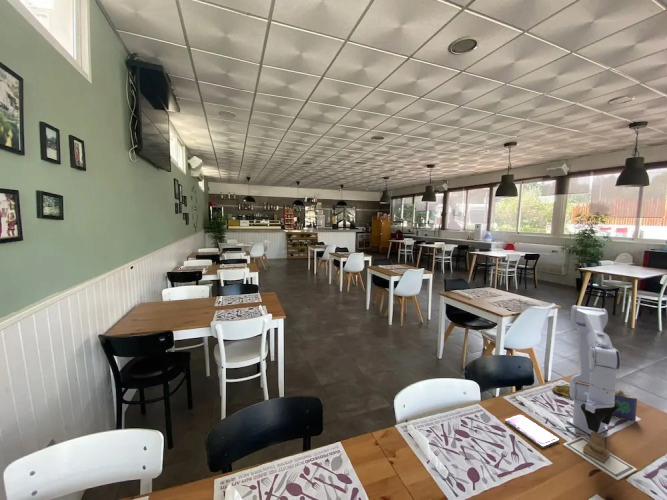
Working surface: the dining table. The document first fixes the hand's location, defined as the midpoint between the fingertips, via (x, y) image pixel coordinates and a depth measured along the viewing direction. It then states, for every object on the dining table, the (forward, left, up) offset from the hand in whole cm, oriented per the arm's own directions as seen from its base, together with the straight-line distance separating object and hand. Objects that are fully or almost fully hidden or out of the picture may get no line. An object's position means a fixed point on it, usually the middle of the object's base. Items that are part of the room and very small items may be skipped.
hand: (598, 426), depth 87 cm
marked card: (0, +1, -10) cm, 10 cm away
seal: (-32, -25, -10) cm, 42 cm away
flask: (-32, -8, -10) cm, 35 cm away
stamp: (0, 0, -10) cm, 10 cm away
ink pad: (+9, -14, -10) cm, 20 cm away
